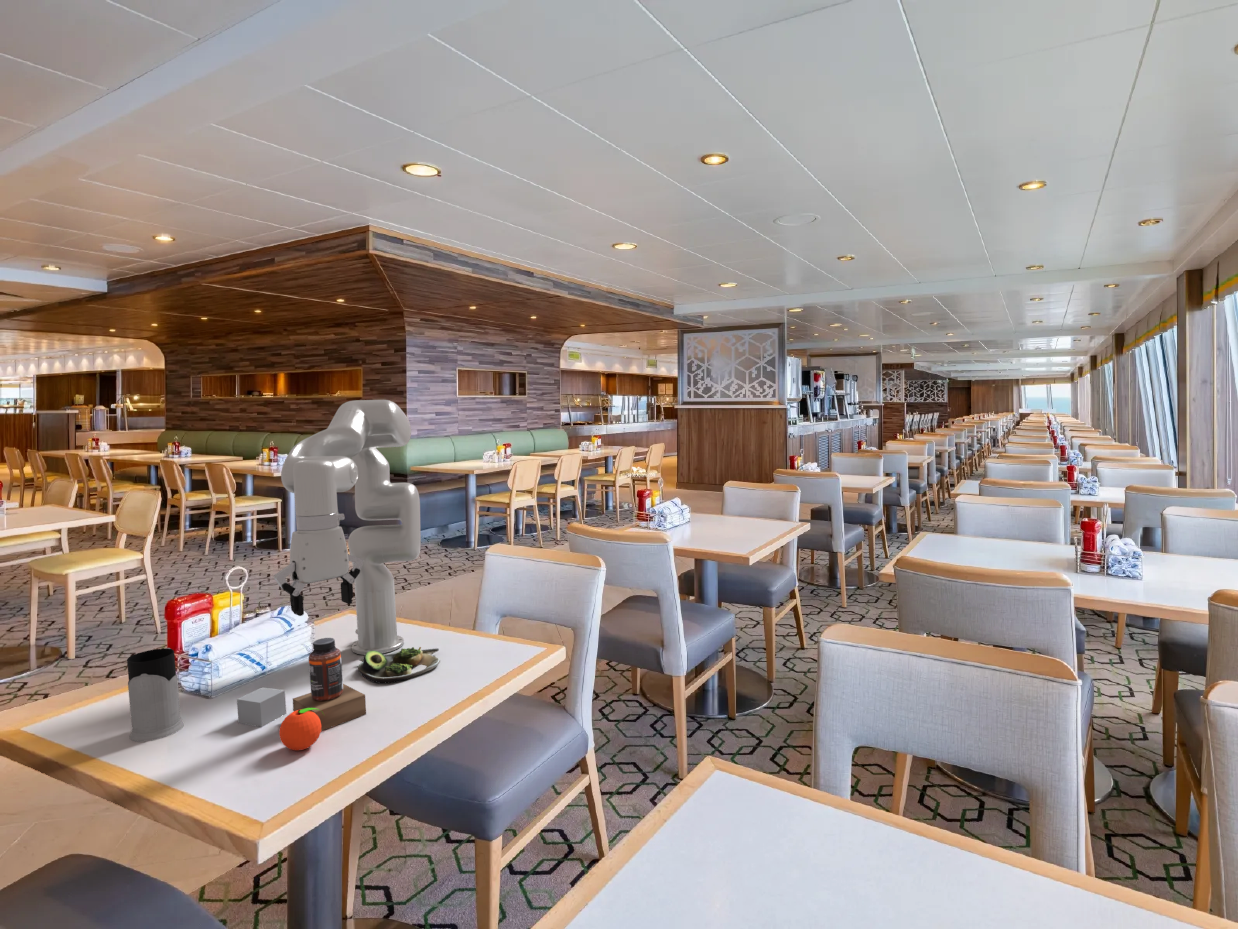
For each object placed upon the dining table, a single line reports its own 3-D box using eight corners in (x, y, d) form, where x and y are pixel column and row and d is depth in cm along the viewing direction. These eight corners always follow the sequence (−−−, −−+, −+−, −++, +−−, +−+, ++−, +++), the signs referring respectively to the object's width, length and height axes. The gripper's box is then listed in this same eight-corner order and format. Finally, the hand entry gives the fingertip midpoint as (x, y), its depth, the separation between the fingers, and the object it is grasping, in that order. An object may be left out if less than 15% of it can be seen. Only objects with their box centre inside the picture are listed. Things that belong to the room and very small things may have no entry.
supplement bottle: (349, 689, 138) (345, 635, 138) (334, 702, 133) (330, 646, 132) (321, 689, 139) (317, 635, 138) (305, 701, 133) (301, 645, 132)
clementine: (316, 733, 129) (314, 697, 128) (335, 743, 124) (333, 706, 124) (273, 750, 122) (270, 712, 122) (292, 762, 118) (289, 722, 117)
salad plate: (423, 648, 175) (422, 630, 175) (459, 665, 162) (458, 646, 162) (348, 669, 162) (347, 650, 161) (381, 690, 149) (380, 669, 148)
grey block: (238, 723, 134) (236, 699, 133) (263, 710, 139) (262, 687, 139) (261, 727, 132) (260, 702, 131) (286, 714, 137) (284, 690, 137)
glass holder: (121, 744, 126) (114, 666, 125) (151, 712, 140) (145, 641, 139) (174, 737, 129) (168, 660, 127) (199, 706, 142) (193, 636, 141)
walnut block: (293, 718, 135) (292, 698, 135) (342, 701, 143) (341, 682, 142) (316, 732, 129) (315, 712, 128) (366, 714, 136) (365, 694, 136)
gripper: (350, 515, 142) (355, 595, 143) (263, 527, 129) (269, 615, 130) (368, 518, 137) (373, 601, 138) (280, 531, 124) (286, 623, 125)
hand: (323, 608), depth 134 cm, fingers open, 9 cm apart
